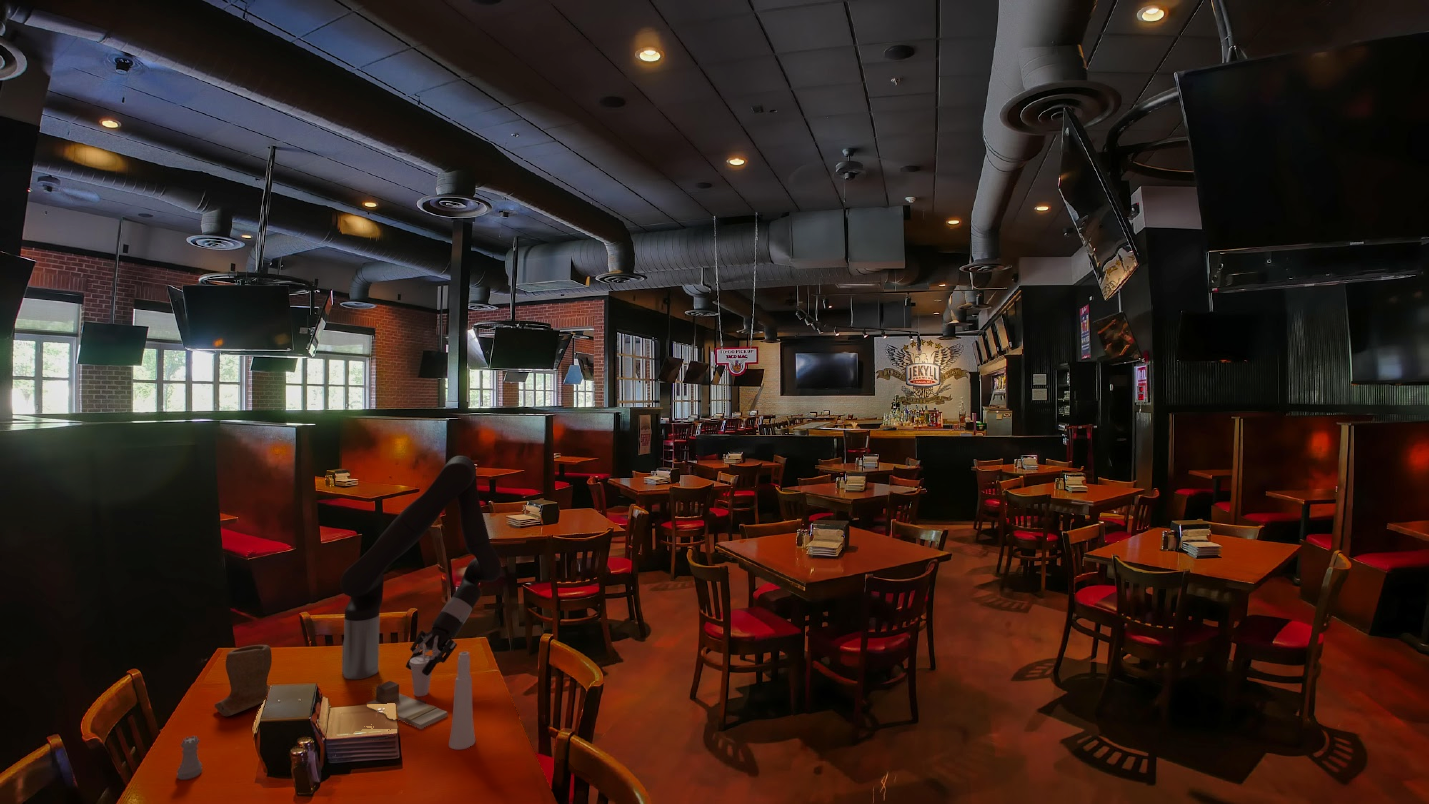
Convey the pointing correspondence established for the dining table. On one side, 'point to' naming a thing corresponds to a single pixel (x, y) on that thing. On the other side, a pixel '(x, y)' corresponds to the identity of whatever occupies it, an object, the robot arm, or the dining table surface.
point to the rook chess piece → (189, 759)
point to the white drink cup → (420, 674)
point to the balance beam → (408, 706)
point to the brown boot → (246, 678)
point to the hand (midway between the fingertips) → (416, 671)
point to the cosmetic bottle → (462, 707)
